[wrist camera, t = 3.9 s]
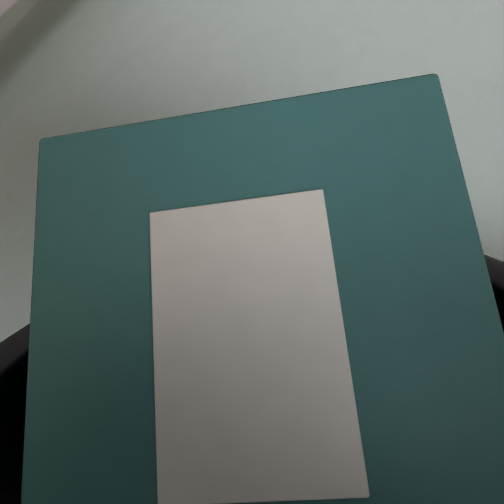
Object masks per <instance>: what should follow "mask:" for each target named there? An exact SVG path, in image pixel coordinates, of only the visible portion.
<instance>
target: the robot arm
mask: <svg viewBox="0 0 504 504" xmlns="http://www.w3.org/2000/svg"><path fill="white" fill-rule="evenodd" d="M484 258H485V261H486V265H487V269H488V273H489V277H490V281H491V285H492V289H493V293H494V297H495V301H496V305H497V308H498V312H499V316H500V320H501V324H502V328H503V332H504V262H502V261H500V260H497V259H494V258H492V257H489V256H487V255H484ZM29 336H30V324H28V325H27V326H25V327H24V328H22V329H20V330H19V331H17V332H16V333H14V334H13V335H11V336H10V337H8V338H7V339H5V340H4V341H2V342H1V343H0V504H21V493H22V473H23V453H24V434H25V414H26V394H27V375H28V355H29Z"/></svg>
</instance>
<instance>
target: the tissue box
mask: <svg viewBox="0 0 504 504" xmlns="http://www.w3.org/2000/svg"><path fill="white" fill-rule="evenodd" d="M21 504H504V332H503V328H502V324H501V320H500V316H499V312H498V308H497V305H496V301H495V297H494V293H493V289H492V285H491V281H490V277H489V273H488V269H487V265H486V261H485V258H484V254H483V250H482V246H481V242H480V238H479V234H478V230H477V226H476V222H475V218H474V214H473V211H472V207H471V203H470V199H469V195H468V191H467V187H466V183H465V179H464V175H463V171H462V167H461V163H460V160H459V156H458V152H457V148H456V144H455V140H454V136H453V132H452V128H451V124H450V120H449V116H448V113H447V109H446V105H445V101H444V97H443V93H442V89H441V85H440V81H439V77H438V75H437V74H428V75H422V76H416V77H410V78H404V79H398V80H392V81H386V82H380V83H374V84H368V85H362V86H356V87H350V88H344V89H338V90H332V91H326V92H320V93H314V94H308V95H302V96H296V97H290V98H284V99H278V100H272V101H266V102H260V103H254V104H248V105H242V106H236V107H230V108H224V109H218V110H212V111H206V112H200V113H194V114H188V115H182V116H176V117H170V118H164V119H158V120H152V121H146V122H140V123H134V124H128V125H122V126H116V127H110V128H104V129H98V130H92V131H86V132H80V133H74V134H68V135H62V136H56V137H50V138H44V139H41V140H40V142H39V159H38V179H37V198H36V218H35V238H34V257H33V277H32V296H31V316H30V336H29V355H28V375H27V394H26V414H25V434H24V453H23V473H22V493H21Z"/></svg>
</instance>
